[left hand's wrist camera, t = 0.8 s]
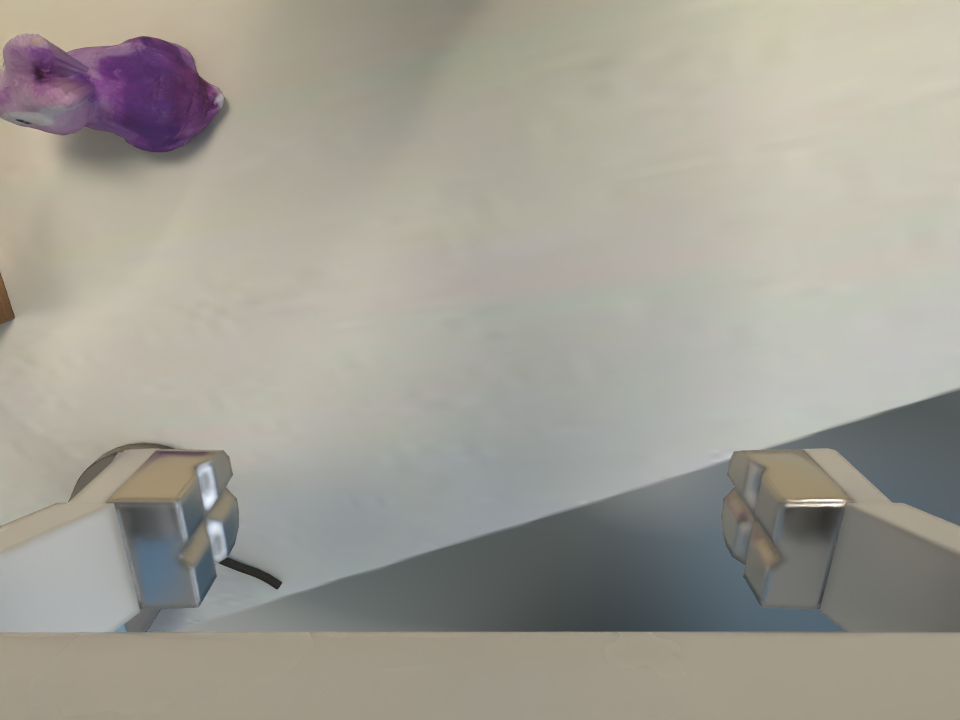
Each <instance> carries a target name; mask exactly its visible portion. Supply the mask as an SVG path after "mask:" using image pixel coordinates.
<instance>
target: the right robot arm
mask: <svg viewBox="0 0 960 720" xmlns="http://www.w3.org/2000/svg"><path fill="white" fill-rule="evenodd" d="M158 448H159V449H161V450H162V449H173V448H170V447H167V446H162V445H157V444H145V443H144V444H130V445H126V446H122V447H119V448H116V449H113V450H111V451H109V452H107V453H106V454H104V455H103V456H101V457H100V458H99V459H98V460H96V461H95V462H94V463H93V464H92V465H91V466H90V467H89V468H88V469H87V470H86V471H84V473H83V474H82V475H81V476H80V478H79V480H78V481H77V483H76V486H75V488H74V490H73V493H72V495H71V497H70V499H69V501H70V500H71V499H72V498H74V497H75V496H76V495H77V494H78V493H79V492H80V491H81V490H82V489H83V488H84V487H85V486H87V485H88V484H89V483H90V482H91V481H92V480H93V479H94V478H95V477H96V476H97V475H98V474H99V473H101V472H102V471H103V470H104V469H105V468H106V467H107V466H108V465H109V464H110V463H111V462H112V461H114V460H115V459H116V458H117V457H118V456H119V455H120V454H121V453H122V452H123V451H124V450H131V449H158ZM219 564H222V565H224V566H227V567H229V568H232V569H234V570H237V571H239V572H242V573H245V574H248V575H251V576H253V577H256V578H258V579H260V580H262V581H264V582H266V583H268V584H269V585H271V586H272V587H274V588H275V589H278V588H279V587H280V585H281V584H282V582H280V581H279V580H277V579H276V578H274V577H272V576H271V575H269V574H267V573H265V572H263V571H261V570H259V569H256V568H253V567H250V566H248V565H245V564H242V563H240V562H237V561H235V560H232V559H230V558H225V559H224V560H222V561H220V562H219ZM160 610H161V609H140V613H138V614H137V615H136V616H134V617H133V618H132V619H130V620H129V621H128V622H126V623H125V624H124V625H122V626H121V627H120V628H118V629H117V630H116V631H114V632H147V630H148V629H149V627H150V625H151V624H152V622H153V621H154V619H155V618H156V616H157V614H158V613H159V611H160Z"/></svg>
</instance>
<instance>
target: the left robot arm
mask: <svg viewBox="0 0 960 720" xmlns="http://www.w3.org/2000/svg"><path fill="white" fill-rule="evenodd" d="M232 476H233V473H232V468H231V463H230V458H229V456H228V455H227V454H226V452H225V451H224V450H181V449H162V450H161V449H159V448H158V449H131V450H124V451H123V452H122V453H121V454H120V455H119V456H118V457H117V458H116V459H115V460H114V461H112V462H111V463H110V464H109V465H108V466H107V467H106V468H105V469H104V470H103V471H102V472H101V473H99V474H98V475H97V476H96V477H95V478H94V479H93V480H92V481H91V482H90V483H89V484H88V485H87V486H85V487H84V488H83V489H82V490H81V491H80V492H79V493H78V494H77V495H76V496H75V497H74V498H72V499H71V500H70V501H69V502H68V503H56V504H54V505H51V506H49V507H46V508H44V509H41V510H39V511H37V512H34V513H32V514H29V515H27V516H24V517H22V518H19V519H17V520H14V521H12V522H10V523H7V524H5V525H2V526H0V720H960V526H958V525H955V524H953V523H950V522H948V521H945V520H943V519H941V518H938V517H936V516H933V515H931V514H928V513H926V512H923V511H921V510H918V509H916V508H913V507H911V506H909V505H906V504H904V503H892V502H891V501H890V500H889V499H888V498H886V497H885V496H884V495H883V494H882V493H881V492H880V491H879V490H878V489H877V488H876V487H875V486H874V485H872V484H871V483H870V482H869V481H868V480H867V479H866V478H865V477H864V476H863V475H862V474H861V473H860V472H858V471H857V470H856V469H855V468H854V467H853V466H852V465H851V464H850V463H849V462H848V461H847V460H846V459H844V458H843V457H842V456H841V455H840V454H839V453H838V452H837V451H835V450H832V449H828V448H825V449H785V450H743V451H735V452H733V455H732V457H731V459H730V461H729V467H728V473H727V476H728V477H729V479H730V480H731V482H732V483H733V485H734V486H735V487H734V488H733V489H732V490H731V491H730V492H729V493H728V494H727V495H726V496H725V497H724V499H723V504H722V512H721V523H722V534H723V537H724V540H725V544H726V546H727V548H728V550H729V552H730V554H731V556H732V557H733V558H735V559H736V560H738V561H740V562H741V563H743V564H744V565H745V570H744V576H743V577H744V578H745V580H746V582H747V584H748V585H749V587H750V589H751V590H752V592H753V594H754V596H755V597H756V599H757V601H758V602H759V604H760V606H761V607H762V608H798V609H820V612H821V613H822V614H823V615H825V616H826V617H827V618H829V619H830V620H831V621H833V622H834V623H835V624H837V625H838V626H839V627H841V628H842V629H843V630H845V631H846V632H114V631H116V630H117V629H118V628H120V627H121V626H122V625H124V624H125V623H126V622H128V621H129V620H130V619H132V618H133V617H134V616H136V615H137V614H138V613H140V609H161V608H197V607H199V606H200V604H201V602H202V601H203V599H204V597H205V596H206V594H207V592H208V590H209V589H210V587H211V585H212V584H213V582H214V580H215V578H216V577H217V576H216V570H215V565H216V564H217V563H219V562H220V561H222V560H224V559H225V558H227V557H228V556H229V554H230V552H231V550H232V548H233V546H234V544H235V540H236V536H237V532H238V528H239V510H238V503H237V499H236V497H235V496H234V495H233V494H232V493H231V492H230V491H229V490H228V489H227V488H226V487H225V486H226V485H227V483H228V482H229V480H230V479H231V477H232Z"/></svg>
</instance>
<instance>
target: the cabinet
mask: <svg viewBox="0 0 960 720" xmlns="http://www.w3.org/2000/svg"><path fill="white" fill-rule="evenodd" d="M13 318H14V314H13V311H12V308H11V305H10V302H9V299H8V296H7V293H6V290H5V286H4V283H3V280H2V277H1V274H0V324H2V323H4V322H7V321H9V320H11V319H13Z"/></svg>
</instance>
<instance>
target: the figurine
mask: <svg viewBox="0 0 960 720" xmlns="http://www.w3.org/2000/svg"><path fill="white" fill-rule="evenodd" d="M3 59H4V63H3V68H2V69H1V70H0V118H2V119H4V120H6V121H9V122H12V123H14V124H16V125H20V126H25V127H31V128H35V129H39V130H42V131H45V132H48V133H53V134H59V135H67V134H72V133H75V132H77V131H79V130H80V129H81V128H83V127H84V126H86V127H89V128H92V129H96V130H101V131H108V132H112V133H115V134H117V135H119V136H121V137H123V138H124V139H125V140H126V141H127V142H128V143H129V144H130V145H132V146H134V147H136V148H139V149H142V150H145V151H150V152H168V151H171V150H174V149H177V148H179V147H182V146H184V145H186V144H187V143H188V142H189V140H190V138H192V137H193V136H195V135H196V134H197V133H199V132H200V131H201V130H202V129H203V128H205V127H206V126H207V125H208V123H209V122H210V121H211V120H212V119H213V118H214V117H215V116H216V115H217V114H218V112H219V111H220V109H221V108H222V106H223V103H224V95H223V93H222V91H221V90H220V89H219V88H217V87H215V86H213V85H211V84H209V83H208V82H206V81H205V80H203V79H202V78H201V77H200V76H199V75H198V73H197V71H196V68H195V66H194V61H193V57H192V55H191V54H190V52H189V51H188V50H187V49H185V48H184V47H182V46H180V45H177V44H174V43H169V42H167V41H164V40H161V39H158V38H152V37H145V36H142V37H137V38H133V39H129V40H127V41H125V42H123V43H121V44H119V45H114V46H101V47H86V48H80V49H75V50H72V51H69V52H67V53H66V52H65V51H63V50H62V49H60V48H58V47H57V46H55V45H54V44H52V43H51V42H49V41H48V40H46V39H44V38H43V37H41V36H40V35H38V34H37V35H33V34H24V35H17V36H16V37H14V38H12V39H11V40H10V41H9V42H7V44H6V45H5V47H4V49H3Z"/></svg>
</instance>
